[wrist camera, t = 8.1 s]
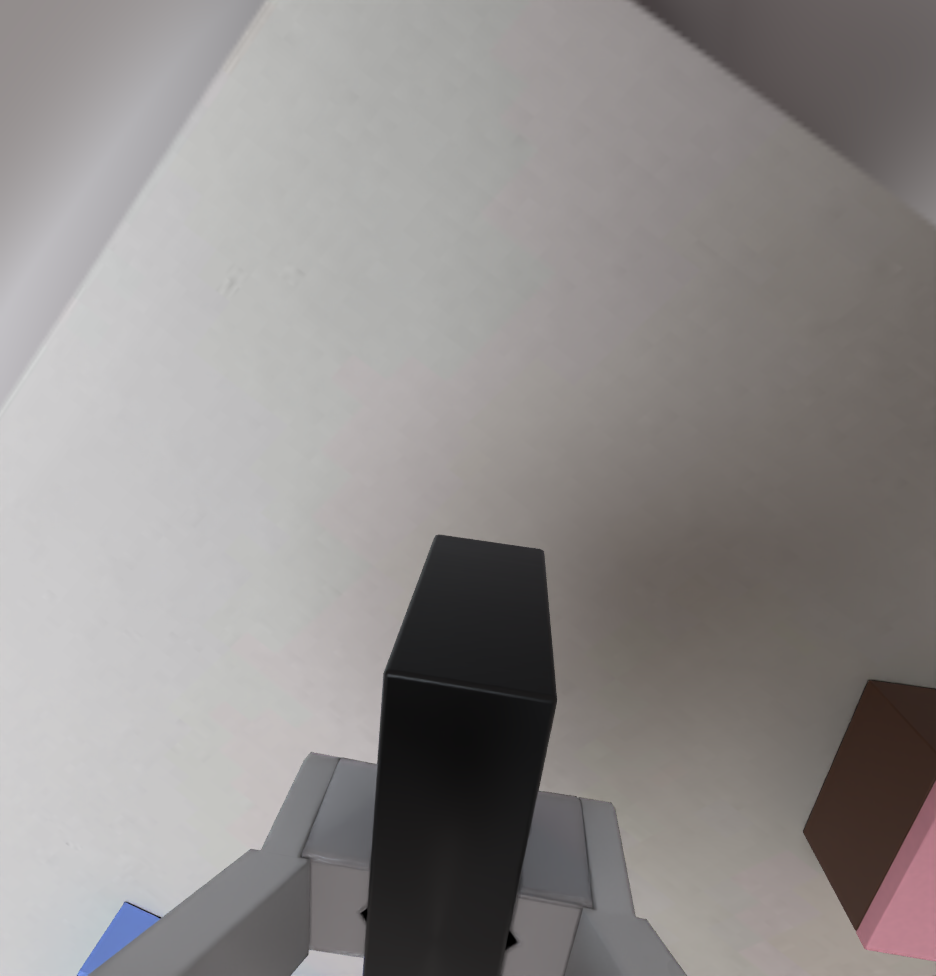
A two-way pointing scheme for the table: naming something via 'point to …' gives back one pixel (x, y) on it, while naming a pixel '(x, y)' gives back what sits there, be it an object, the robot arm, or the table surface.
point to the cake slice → (883, 821)
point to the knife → (459, 760)
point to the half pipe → (118, 935)
